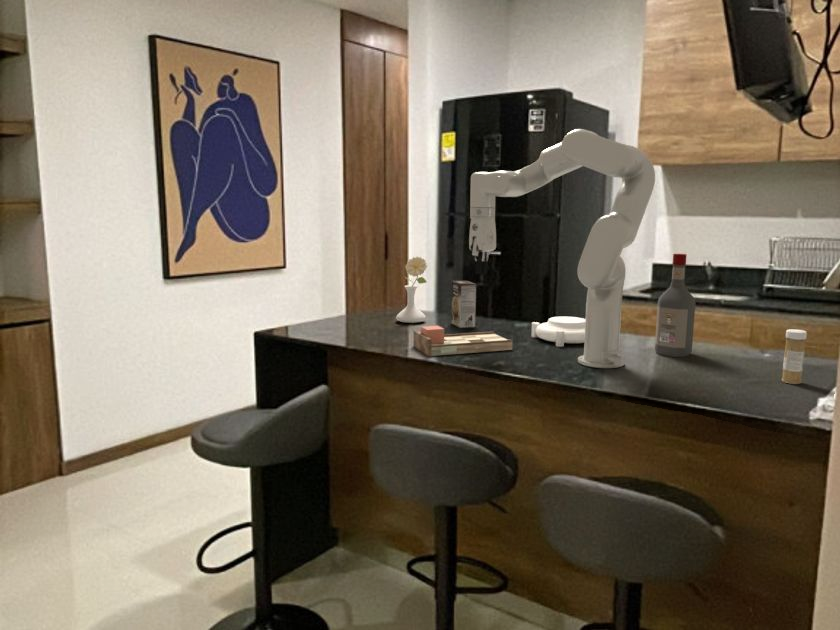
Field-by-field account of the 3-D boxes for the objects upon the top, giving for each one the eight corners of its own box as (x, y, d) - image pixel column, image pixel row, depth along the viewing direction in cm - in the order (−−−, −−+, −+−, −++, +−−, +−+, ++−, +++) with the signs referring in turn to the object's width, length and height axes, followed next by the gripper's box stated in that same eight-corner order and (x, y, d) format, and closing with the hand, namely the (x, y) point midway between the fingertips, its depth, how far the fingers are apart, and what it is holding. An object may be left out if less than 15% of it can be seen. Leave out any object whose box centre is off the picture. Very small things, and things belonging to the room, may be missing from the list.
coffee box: (450, 323, 247) (451, 280, 244) (466, 322, 249) (467, 280, 246) (459, 328, 239) (459, 283, 236) (475, 327, 241) (476, 283, 238)
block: (444, 343, 201) (444, 328, 200) (427, 344, 199) (427, 329, 198) (437, 339, 206) (437, 325, 205) (420, 340, 204) (421, 326, 203)
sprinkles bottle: (784, 378, 171) (789, 328, 169) (803, 382, 168) (809, 330, 166) (778, 382, 168) (784, 330, 166) (798, 385, 165) (804, 332, 163)
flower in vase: (389, 322, 249) (389, 256, 244) (408, 318, 258) (408, 254, 253) (417, 326, 241) (417, 258, 237) (435, 322, 250) (436, 256, 245)
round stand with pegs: (521, 344, 213) (522, 322, 212) (540, 331, 235) (540, 311, 234) (597, 351, 204) (598, 328, 203) (609, 337, 225) (610, 316, 224)
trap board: (512, 349, 204) (512, 333, 203) (428, 356, 195) (428, 339, 194) (493, 340, 217) (493, 325, 216) (413, 346, 208) (413, 330, 207)
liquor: (681, 358, 193) (689, 255, 188) (651, 353, 199) (658, 254, 194) (694, 353, 200) (701, 254, 195) (664, 348, 206) (671, 252, 201)
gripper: (482, 214, 192) (481, 277, 195) (504, 213, 205) (502, 272, 208) (460, 214, 196) (459, 275, 199) (482, 213, 209) (481, 271, 212)
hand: (481, 273), depth 204 cm, fingers closed
